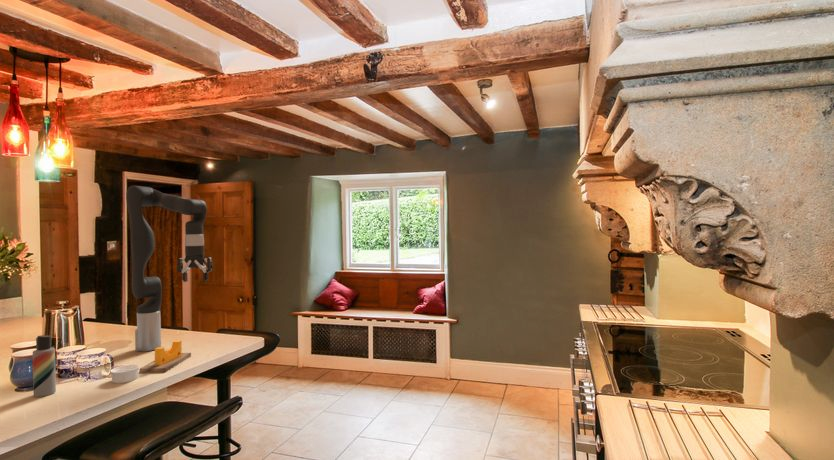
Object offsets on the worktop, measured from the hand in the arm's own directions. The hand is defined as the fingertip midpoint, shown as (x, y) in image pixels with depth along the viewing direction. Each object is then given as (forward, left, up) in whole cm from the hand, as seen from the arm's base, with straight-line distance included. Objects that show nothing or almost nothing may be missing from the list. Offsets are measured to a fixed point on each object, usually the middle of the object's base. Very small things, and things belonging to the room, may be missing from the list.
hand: (195, 281), depth 187 cm
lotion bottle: (-31, -42, -32) cm, 61 cm away
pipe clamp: (-6, -13, -31) cm, 34 cm away
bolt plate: (-6, -13, -32) cm, 35 cm away
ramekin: (-12, -30, -32) cm, 46 cm away
